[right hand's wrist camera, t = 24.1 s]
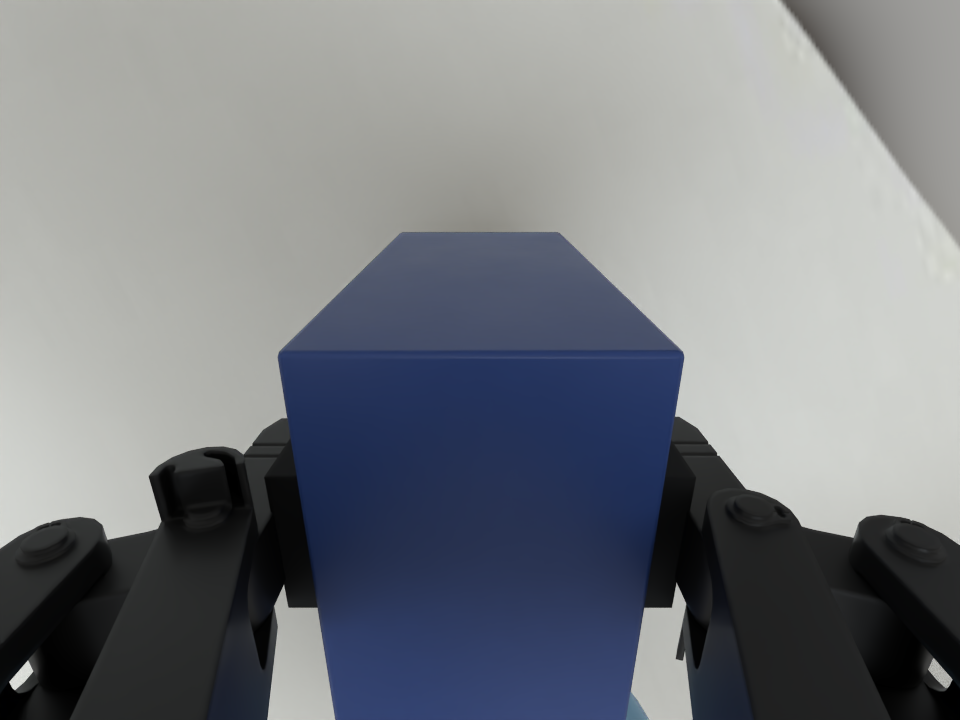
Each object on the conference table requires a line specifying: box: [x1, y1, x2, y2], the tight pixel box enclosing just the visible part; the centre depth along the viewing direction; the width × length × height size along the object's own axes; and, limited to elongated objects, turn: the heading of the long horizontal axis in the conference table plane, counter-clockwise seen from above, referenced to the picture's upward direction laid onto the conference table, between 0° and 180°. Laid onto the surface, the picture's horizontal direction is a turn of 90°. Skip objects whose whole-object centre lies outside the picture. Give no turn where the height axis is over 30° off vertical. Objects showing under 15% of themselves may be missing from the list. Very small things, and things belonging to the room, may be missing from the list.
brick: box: [278, 232, 684, 720], centre depth 13 cm, size 5×7×11 cm
